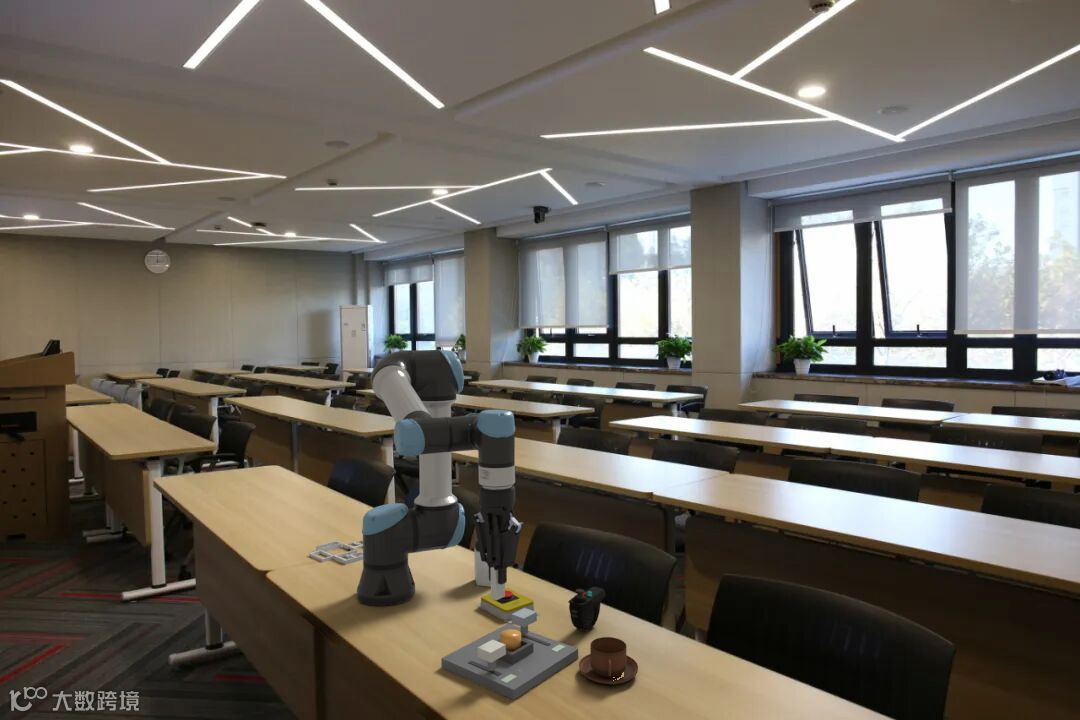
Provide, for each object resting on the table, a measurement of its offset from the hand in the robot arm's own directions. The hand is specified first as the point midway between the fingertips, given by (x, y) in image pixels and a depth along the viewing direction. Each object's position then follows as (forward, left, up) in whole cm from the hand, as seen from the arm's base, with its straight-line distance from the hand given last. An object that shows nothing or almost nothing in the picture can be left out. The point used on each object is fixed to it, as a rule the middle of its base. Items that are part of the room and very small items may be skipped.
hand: (497, 597), depth 142 cm
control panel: (+1, +3, -15) cm, 15 cm away
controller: (+4, +27, -15) cm, 31 cm away
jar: (-34, +34, -15) cm, 50 cm away
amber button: (+1, +3, -11) cm, 11 cm away
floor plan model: (-86, +21, -15) cm, 90 cm away
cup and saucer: (+20, +12, -15) cm, 27 cm away
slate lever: (-2, +11, -13) cm, 17 cm away
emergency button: (-17, +23, -15) cm, 32 cm away
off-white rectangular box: (+3, -5, -13) cm, 14 cm away
